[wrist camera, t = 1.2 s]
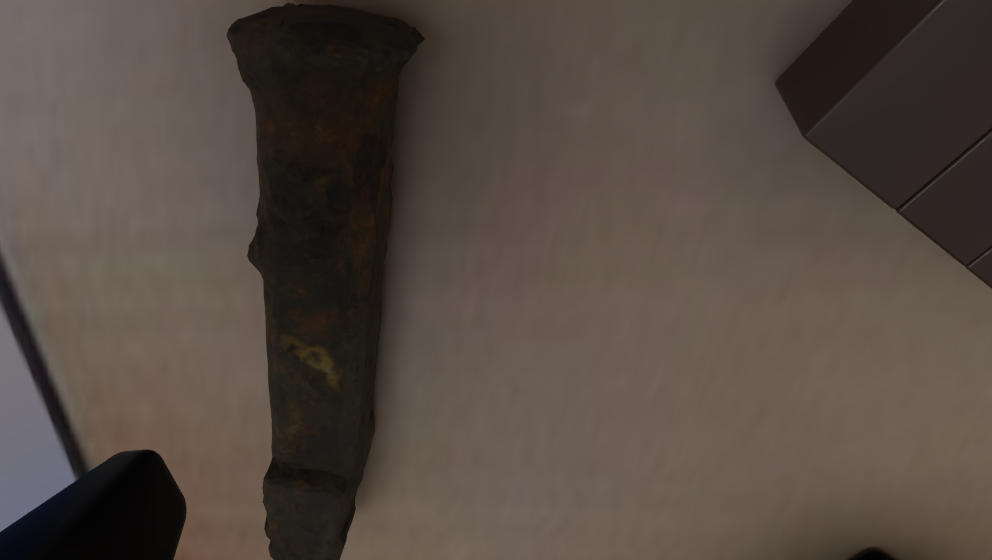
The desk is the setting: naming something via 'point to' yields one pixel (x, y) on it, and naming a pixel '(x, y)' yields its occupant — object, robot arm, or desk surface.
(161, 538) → the robot arm
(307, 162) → the hand tool
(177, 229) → the desk surface
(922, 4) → the block
